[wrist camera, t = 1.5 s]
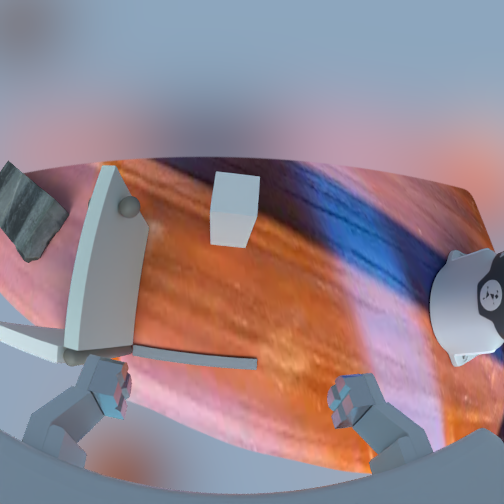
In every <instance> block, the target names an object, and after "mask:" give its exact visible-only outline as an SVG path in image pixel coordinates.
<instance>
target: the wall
mask: <svg viewBox="0 0 504 504" xmlns="http://www.w3.org/2000/svg"><path fill="white" fill-rule="evenodd" d="M64 335H65V329H58V328H47V327H38V326H29V325H21V324H13V323H7V322H0V341H2V342H3V343H6V344H8V345H10V346H12V347H15V348H17V349H20V350H22V351H24V352H27V353H29V354H32V355H35V356H37V357H40V358H42V359H45V360H48V361H51V362H54V363H57V364H58V363H65V361H64V358H63V354H64V351H65V350H66V349H69V348H66V347H64ZM133 355H134V356H139V357H145V358H150V359H156V360H163V361H170V362H177V363H184V364H192V365H201V366H211V367H222V368H234V369H251V370H256V368H257V359H249V358H234V357H222V356H211V355H201V354H193V353H185V352H177V351H170V350H163V349H156V348H150V347H144V346H138V345H133Z"/></svg>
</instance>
